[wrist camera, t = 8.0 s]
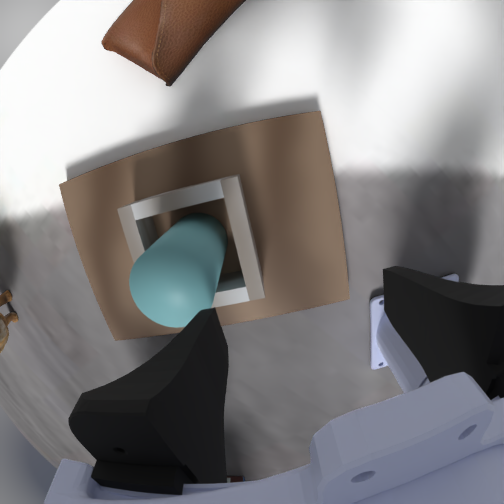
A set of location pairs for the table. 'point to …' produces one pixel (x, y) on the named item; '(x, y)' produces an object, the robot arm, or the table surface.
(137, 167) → the socket board
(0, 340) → the lion figurine
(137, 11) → the sunglasses case
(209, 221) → the peg
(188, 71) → the table surface
